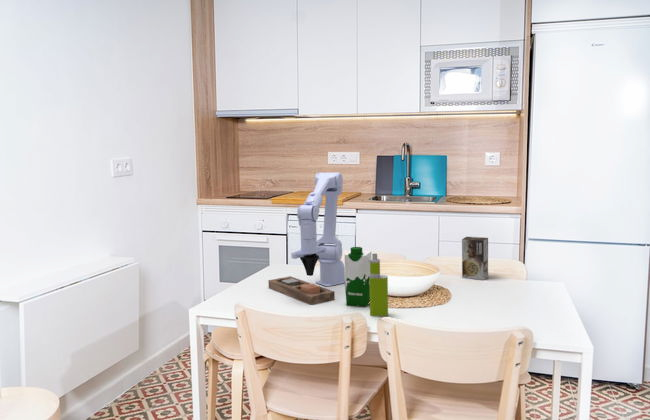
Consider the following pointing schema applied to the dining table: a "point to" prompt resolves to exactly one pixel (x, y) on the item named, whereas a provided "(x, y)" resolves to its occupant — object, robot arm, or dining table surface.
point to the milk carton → (357, 277)
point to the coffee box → (475, 258)
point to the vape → (378, 289)
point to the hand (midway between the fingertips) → (309, 275)
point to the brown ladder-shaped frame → (298, 293)
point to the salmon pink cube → (311, 288)
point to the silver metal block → (290, 282)
